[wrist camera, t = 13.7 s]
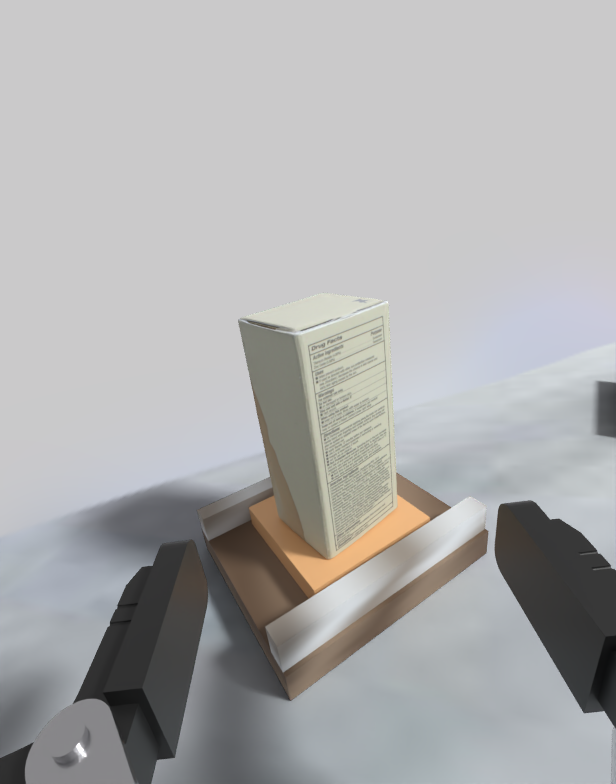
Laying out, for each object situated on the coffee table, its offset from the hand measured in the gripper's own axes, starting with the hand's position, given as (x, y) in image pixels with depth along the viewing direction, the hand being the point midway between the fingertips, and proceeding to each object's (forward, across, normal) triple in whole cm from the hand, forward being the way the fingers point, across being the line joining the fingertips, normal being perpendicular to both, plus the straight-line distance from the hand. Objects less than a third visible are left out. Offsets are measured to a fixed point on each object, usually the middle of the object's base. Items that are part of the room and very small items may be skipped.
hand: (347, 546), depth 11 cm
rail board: (+9, 0, +9) cm, 13 cm away
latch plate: (+9, 0, +8) cm, 12 cm away
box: (+9, 0, +7) cm, 11 cm away
